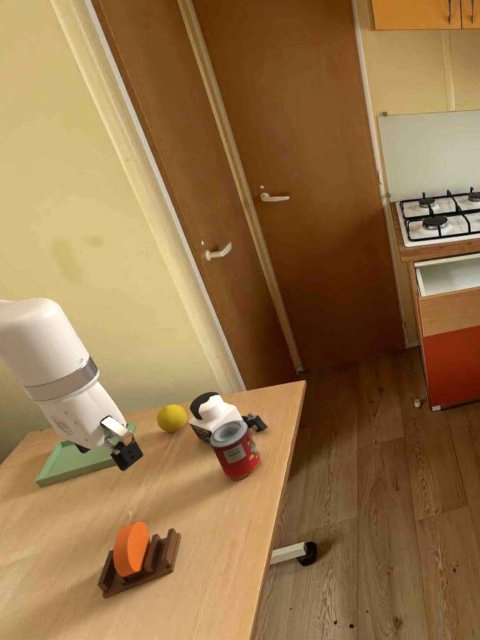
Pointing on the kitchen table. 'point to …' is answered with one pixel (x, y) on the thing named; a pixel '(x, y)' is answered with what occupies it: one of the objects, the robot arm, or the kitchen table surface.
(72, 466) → the tray
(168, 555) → the rack
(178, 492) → the kitchen table surface
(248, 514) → the kitchen table surface
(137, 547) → the disc
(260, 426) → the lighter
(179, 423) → the lemon
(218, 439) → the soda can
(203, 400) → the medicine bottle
